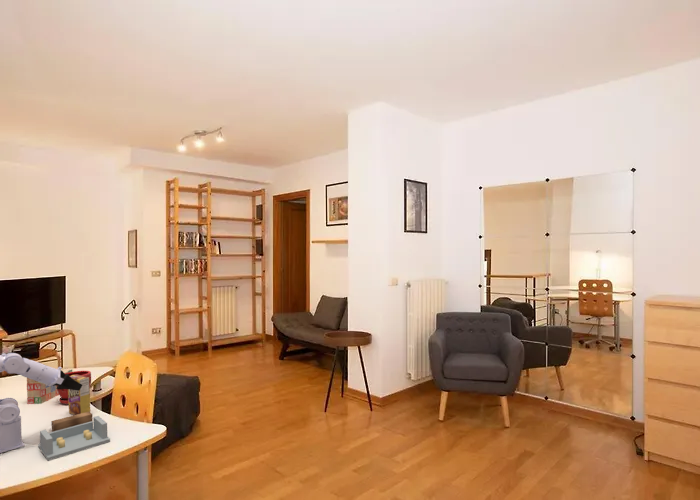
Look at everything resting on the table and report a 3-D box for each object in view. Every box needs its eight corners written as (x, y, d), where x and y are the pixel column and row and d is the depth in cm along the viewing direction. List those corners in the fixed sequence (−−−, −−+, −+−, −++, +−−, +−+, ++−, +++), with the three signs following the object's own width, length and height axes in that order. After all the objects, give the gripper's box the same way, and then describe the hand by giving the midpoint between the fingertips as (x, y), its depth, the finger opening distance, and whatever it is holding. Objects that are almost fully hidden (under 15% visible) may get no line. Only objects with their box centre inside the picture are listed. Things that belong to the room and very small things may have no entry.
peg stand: (47, 460, 138) (47, 441, 138) (38, 447, 148) (37, 429, 148) (110, 441, 151) (109, 424, 151) (97, 430, 160) (97, 414, 160)
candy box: (67, 413, 178) (66, 376, 177) (78, 410, 181) (77, 373, 181) (80, 417, 173) (79, 379, 173) (91, 414, 177) (90, 376, 177)
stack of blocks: (60, 388, 212) (59, 363, 212) (73, 388, 212) (72, 362, 211) (27, 404, 190) (26, 376, 190) (41, 404, 190) (40, 376, 190)
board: (54, 441, 153) (53, 423, 153) (51, 437, 155) (51, 421, 155) (92, 430, 161) (92, 414, 161) (89, 427, 164) (89, 411, 164)
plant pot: (98, 395, 199) (97, 369, 199) (77, 406, 186) (76, 378, 186) (71, 395, 200) (70, 369, 200) (49, 405, 187) (48, 378, 187)
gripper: (51, 364, 151) (89, 378, 158) (43, 359, 161) (80, 373, 169) (38, 383, 148) (77, 397, 155) (31, 378, 158) (69, 391, 166)
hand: (78, 386), depth 162 cm, fingers open, 7 cm apart
